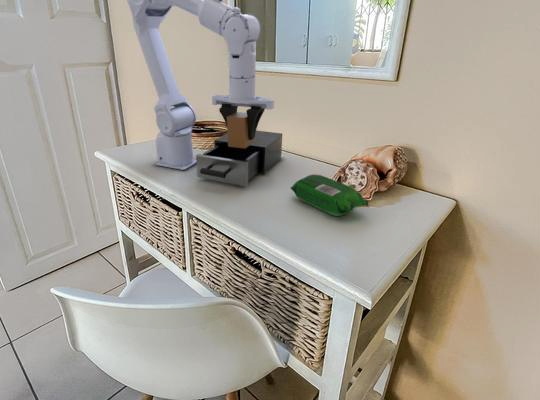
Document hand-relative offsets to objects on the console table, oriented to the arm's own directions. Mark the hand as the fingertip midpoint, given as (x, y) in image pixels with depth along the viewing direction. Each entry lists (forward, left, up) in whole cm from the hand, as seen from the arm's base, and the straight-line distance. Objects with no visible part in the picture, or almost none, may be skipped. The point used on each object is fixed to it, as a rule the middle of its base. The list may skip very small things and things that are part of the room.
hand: (242, 137), depth 79 cm
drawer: (-3, -2, -10) cm, 10 cm away
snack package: (+22, -6, -11) cm, 25 cm away
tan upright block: (0, -1, -2) cm, 2 cm away
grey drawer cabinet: (-3, +11, -10) cm, 15 cm away
